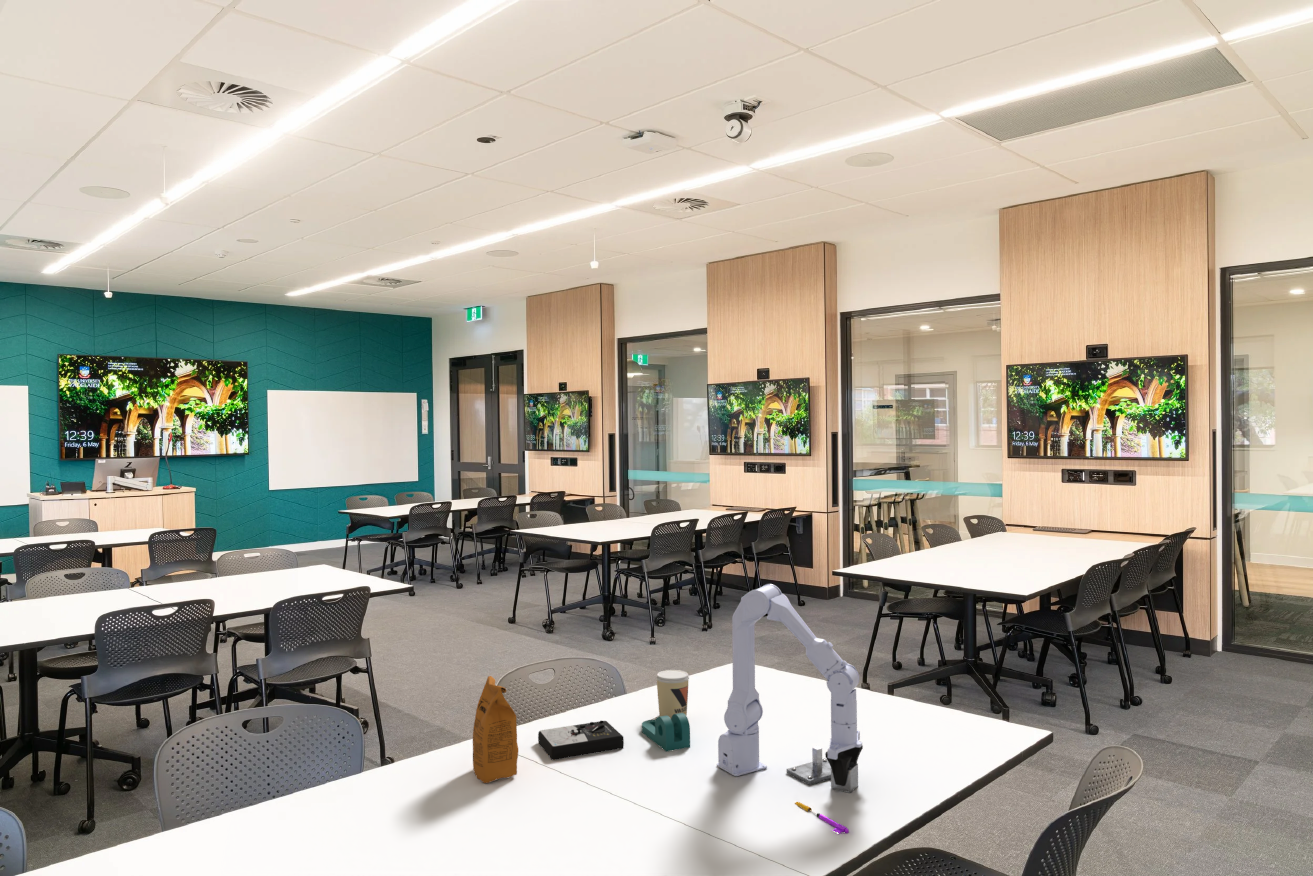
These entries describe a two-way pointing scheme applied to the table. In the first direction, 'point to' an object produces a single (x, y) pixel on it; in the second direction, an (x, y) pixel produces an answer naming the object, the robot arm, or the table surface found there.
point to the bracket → (668, 731)
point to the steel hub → (850, 781)
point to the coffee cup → (672, 692)
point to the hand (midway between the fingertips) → (844, 780)
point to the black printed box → (580, 740)
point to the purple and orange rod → (825, 819)
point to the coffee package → (494, 735)
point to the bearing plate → (812, 769)
